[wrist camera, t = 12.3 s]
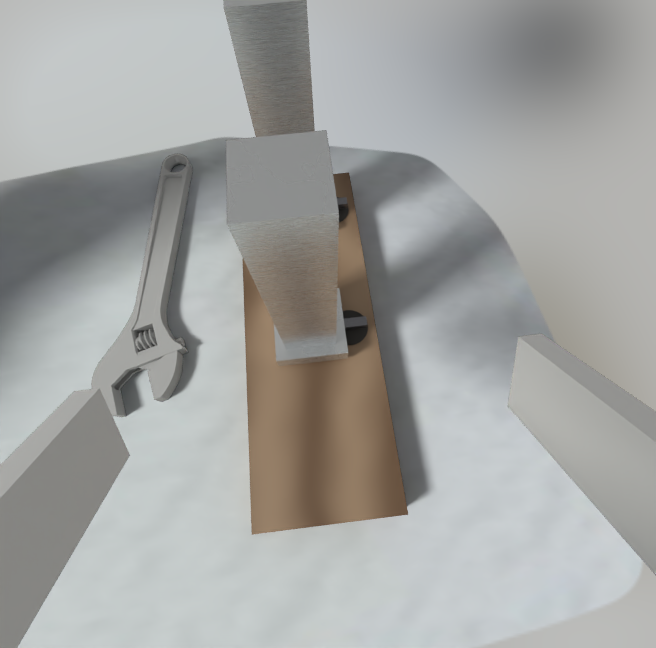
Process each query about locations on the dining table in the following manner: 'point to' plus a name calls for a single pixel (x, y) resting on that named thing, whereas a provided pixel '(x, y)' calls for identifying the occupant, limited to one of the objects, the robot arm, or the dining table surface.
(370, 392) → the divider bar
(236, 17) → the fixed leg
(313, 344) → the block
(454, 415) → the dining table surface
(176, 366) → the adjustable wrench
